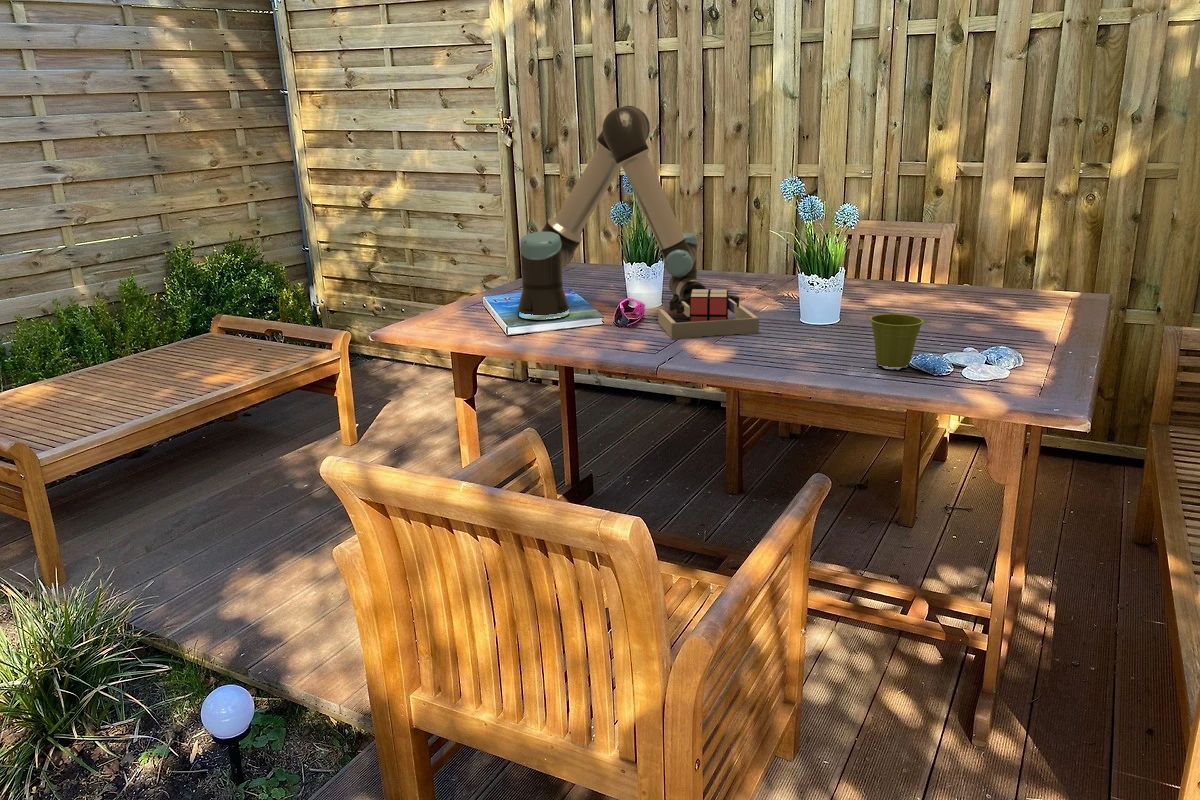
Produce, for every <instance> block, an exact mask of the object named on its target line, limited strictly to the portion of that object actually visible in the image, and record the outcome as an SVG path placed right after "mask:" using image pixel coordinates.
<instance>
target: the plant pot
mask: <svg viewBox="0 0 1200 800" xmlns="http://www.w3.org/2000/svg"><path fill="white" fill-rule="evenodd" d="M868 320H869V322H871V326H872V332H873V339H874V340H873V341H874V349H875V351H874V352H875V363H877V364H879V365H882V366H888V367H901V366H906V365H908V364H909V362H910V363H911V359H912V358H913V357H912V356H913V352H914V349H915V345H916V341H917V337H918V334H919V333H920V331H921V327H922V326H921V325H923V324H924V323H925V321H924V319H922V318H921V317H918V316H914V315H910V314H904V313H903V314H902V313H880V314H874V315H872V316H870V317H869V319H868ZM909 365H910V364H909Z"/></svg>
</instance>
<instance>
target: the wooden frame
mask: <svg viewBox="0 0 1200 800" xmlns="http://www.w3.org/2000/svg"><path fill="white" fill-rule="evenodd" d="M657 314H658V316H657V317H658V318H657V321H658V322H657V324H658V325H660V327H661V328H662V330H664V331H665V332H666V333H667V334H668V336H669V338H671V339H673V340H676V339H677V340H678V339H689V338H690V339H691V338H692V337H694V338H703V337H702V336H709V337H714V336H713V335H724V336H735V335H734V334H740V335H751V334H752V333H755V334H759V333H760V317H758V316H756V315H755V314H754V313H752V312H751V311H750V310H748V309H747V308H746V307H744V306H743V305H742V304H740V303H739V307H737V314H734V318H730V319H729V318H728V319H726V320H710V321H695V322H689V321H684V322H683V321H681V322H676V320H674V319H673V318H672V317H671V316H670V315H669V314H668V313H667V312H666V311H665V310H664V309H663V308H659V309H657ZM735 318H736V319H735Z"/></svg>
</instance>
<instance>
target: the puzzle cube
mask: <svg viewBox="0 0 1200 800" xmlns="http://www.w3.org/2000/svg"><path fill="white" fill-rule="evenodd" d="M728 295H729V290H728V289H724V288H723V289H720V288H719V289H718V288H717V289H716V288H715V289H714V288H712V289H707V288H706V289H692V290H691V294H690V317H688V318H689V321H688V322H695V321H710V320H726V319H729V318H728V316H729V310H728Z"/></svg>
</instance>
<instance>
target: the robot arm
mask: <svg viewBox="0 0 1200 800" xmlns="http://www.w3.org/2000/svg"><path fill="white" fill-rule="evenodd" d="M646 114H647V113H645V112H644V111H643V110H642V109H640V108H639V107H636V106H635V105H634V106H633V105H623V106H619V107H616V108H614V109H612V110H611V111H609V113H608V114H607V115H606V116H605V118H604V120H603V121H602V122H603V123H602V128H601V129H602V130H601V132H600V133H599V135H598V136H597V139H596V145H597V148H596V150H595V152H594V154H593V155H592V157H591V158H590V161H589V162H588V164H587V165H586V167H585V169H584V170H583V172H582V173H581V174H580V177H579V179H578V180H577V182H576V184H575V185H574V186H573V188H572V189H571V191H570V193H569V195H567V198H566V199H565V202H564V203H563V205H562V206H561V208H560V209H559V210H558V211H559V212H558V213H557V215H556V216H555V217H552V218H548V220H547V221H546V223H545V225H544V226H543V228H542V230H541V231H536V232H535V231H534V232H532V233H527V234H525V235H523V236H522V237H521V239H520V242H519V243H520V246H519V253H520V263H521V264H520V265H521V266H520V268H521V280H522V282H521V283H522V285H521V286H522V291H521V295H520V299H519V303H518V306H517V312H518V311H519V312H521V313H524V314H531V315H532V314H533V315H549V314H557V313H562V312H565V311H567V310H568V309H570V304H569V302H568V299H567V296H566V293H565V290H564V289H563V288H564V287H563V285H564V284H563V268H564V267H567V265H569V263H571V261H572V259H573V258H574V254H575V252H576V250H577V249H578V247H579V245H580V244H581V242H582V236H581V233H582V231H583V229H584V228H585V227H586V225H587V222H589V219H590V218H591V216H592V215H593V213H594V212H595V210H596V208H597V206H599V203H600V202H601V200H602V198H603V197H604V195H605V193H606V192H607V191H608V189H609V188H610V186H611V184H612V183H613V181H614V179H615V178H616V176H617V175H618V173H619V171H620V170H621V169H623V171H624V174H625V176H626V178H627V181H628V183H629V185H630V186H631V188H632V190H633V193H634V195H635V198H636V199H637V202H638V204H639V206H640V208H641V211H642V213H643V216H644V217H645V220H646V222H647V224H648V225H649V228H650V230H651V232H652V235H653V236H654V239H655V241H656V243H657V246H658V248H659V249H660V252H661V254H662V257H663V259H664V266H665V270H666V271H667V272H668V274H669V275H671V276H670V278H669V279H668V288H669V291H670V293H671V294H672V296H673V297H672V299H671V300H670V301H669V311H671V312H674V311H675V310H676V314H678V315H680V314H684V315H685V317H687V318H690V294H691V290H692V289H707V288H706V287H705V286H704V285H703V284H702V283H701V282H699V281H698V279H697V278H698V268H697V267H698V264H697V263H698V236H697V235H696V234H695V233H691V232H689V233H688V232H683V231H682V229H681V228H680V225H679V223H678V220H677V218H676V216H675V214H674V212H673V209H672V207H671V205H670V203H669V200H668V198H667V196H666V194H665V190H664V189H663V187H662V184H661V182H660V180H659V178H658V176H657V173H656V171H655V169H654V166H653V164H652V161H651V160H650V158H649V155H648V153H649V151H650V148H649V146H648V144H647V141H648V140H647V139H648V138H649V135H650V131H651V129H650V128H651V124H650V121H649V117H648V116H647V115H646ZM739 304H740V297H738V296H734V295H730V294H728V311H730V312H731V313H732V314H734V315H735V314H737V307H739Z"/></svg>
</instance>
